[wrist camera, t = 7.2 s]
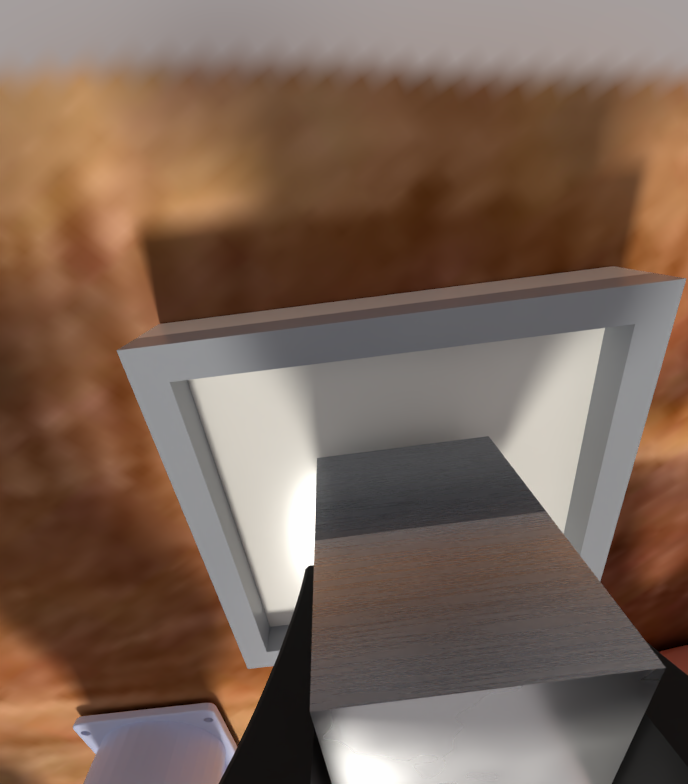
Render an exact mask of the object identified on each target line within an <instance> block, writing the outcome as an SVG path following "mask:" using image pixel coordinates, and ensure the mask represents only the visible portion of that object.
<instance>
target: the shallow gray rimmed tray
mask: <svg viewBox="0 0 688 784" xmlns="http://www.w3.org/2000/svg"><path fill="white" fill-rule="evenodd" d="M685 281H686V278H680V277H674V276H668V275H662V274H656V273H650V272H644V271H638V270H632V269H626V268H620V267H614V266H611V267H603V268H595V269H588V270H580V271H572V272H564V273H556V274H548V275H540V276H533V277H525V278H517V279H509V280H501V281H493V282H485V283H478V284H470V285H462V286H454V287H446V288H438V289H430V290H423V291H415V292H407V293H399V294H391V295H383V296H376V297H368V298H360V299H352V300H344V301H336V302H328V303H321V304H313V305H305V306H297V307H289V308H281V309H273V310H266V311H258V312H250V313H242V314H234V315H226V316H219V317H211V318H203V319H195V320H187V321H179V322H171V323H164V324H158V325H157V326H155V327H154V328H152V329H150V330H149V331H147V332H146V333H144V334H142V335H141V336H139V337H138V338H136V339H134V340H133V341H131V342H130V343H128V344H126V345H125V346H123V347H122V348H120V349H118V350H117V353H118V355H119V357H120V360H121V362H122V365H123V367H124V370H125V372H126V374H127V377H128V379H129V382H130V384H131V387H132V389H133V391H134V394H135V396H136V399H137V401H138V404H139V406H140V408H141V411H142V413H143V416H144V418H145V421H146V423H147V425H148V428H149V430H150V433H151V435H152V438H153V440H154V442H155V445H156V447H157V450H158V452H159V454H160V457H161V459H162V462H163V464H164V467H165V469H166V471H167V474H168V476H169V479H170V481H171V484H172V486H173V488H174V491H175V493H176V496H177V498H178V501H179V503H180V505H181V508H182V510H183V513H184V515H185V518H186V520H187V522H188V525H189V527H190V530H191V532H192V535H193V537H194V539H195V542H196V544H197V547H198V549H199V551H200V554H201V556H202V559H203V561H204V564H205V566H206V568H207V571H208V573H209V576H210V578H211V581H212V583H213V585H214V588H215V590H216V593H217V595H218V598H219V600H220V602H221V605H222V607H223V610H224V612H225V615H226V617H227V619H228V622H229V624H230V627H231V629H232V632H233V634H234V636H235V639H236V641H237V644H238V646H239V648H240V651H241V653H242V656H243V658H244V661H245V663H246V665H247V668H248V669H250V668H259V667H268V666H274V664H275V662H276V659H277V657H278V654H279V651H280V649H281V646H282V643H283V640H284V638H285V635H286V632H287V629H288V627H289V624H290V621H291V618H292V615H293V612H294V609H295V606H296V603H297V599H298V596H299V593H300V589H301V585H302V582H303V577H304V573H305V569H306V568H307V567H308V566H310V565H314V545H315V510H316V475H317V458H321V457H329V456H337V455H345V454H353V453H360V452H368V451H376V450H384V449H392V448H400V447H407V446H415V445H423V444H431V443H439V442H446V441H454V440H462V439H470V438H478V437H486V436H489V437H490V439H491V440H492V441H493V442H494V444H495V445H496V446H497V448H498V449H499V450H500V452H501V453H502V454H503V456H504V457H505V458H506V459H507V461H508V462H509V463H510V465H511V466H512V467H513V469H514V470H515V471H516V473H517V474H518V475H519V476H520V478H521V479H522V480H523V482H524V483H525V484H526V486H527V487H528V488H529V490H530V491H531V492H532V493H533V495H534V496H535V497H536V499H537V500H538V501H539V503H540V504H541V505H542V507H543V508H544V509H545V510H546V512H547V513H548V514H549V516H550V517H551V518H552V520H553V521H554V522H555V524H556V525H557V526H558V527H559V529H560V530H561V531H562V533H563V534H564V535H565V537H566V538H567V539H568V540H569V542H570V543H571V544H572V546H573V547H574V548H575V550H576V551H577V552H578V554H579V555H580V556H581V557H582V559H583V560H584V561H585V563H586V564H587V565H588V567H589V568H590V569H591V571H592V572H593V573H594V574H595V576H596V577H597V578H598V580H599V581H601V577H602V574H603V570H604V567H605V563H606V560H607V556H608V553H609V549H610V546H611V542H612V539H613V535H614V531H615V528H616V524H617V521H618V517H619V514H620V510H621V507H622V503H623V500H624V496H625V493H626V489H627V486H628V482H629V479H630V475H631V472H632V468H633V465H634V461H635V457H636V454H637V450H638V447H639V443H640V440H641V436H642V433H643V429H644V426H645V422H646V419H647V415H648V412H649V408H650V405H651V401H652V398H653V394H654V390H655V387H656V383H657V380H658V376H659V373H660V369H661V366H662V362H663V359H664V355H665V352H666V348H667V345H668V341H669V338H670V334H671V331H672V327H673V323H674V320H675V316H676V313H677V309H678V306H679V302H680V299H681V295H682V292H683V288H684V285H685Z"/></svg>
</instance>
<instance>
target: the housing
mask: <svg viewBox="0 0 688 784" xmlns="http://www.w3.org/2000/svg"><path fill="white" fill-rule="evenodd" d="M665 668H666V667H665V666H664V665H663V663H662V662H661V661H660V659H659V658H658V657H657V656H656V654H655V653H654V652H653V650H652V649H651V648H650V646H649V645H648V644H647V642H646V641H645V640H644V639H643V637H642V636H641V635H640V633H639V632H638V631H637V629H636V628H635V627H634V625H633V624H632V623H631V622H630V620H629V619H628V618H627V616H626V615H625V614H624V612H623V611H622V610H621V608H620V607H619V606H618V605H617V603H616V602H615V601H614V599H613V598H612V597H611V595H610V594H609V593H608V591H607V590H606V589H605V588H604V586H603V585H602V584H601V582H600V581H599V580H598V578H597V577H596V576H595V574H594V573H593V572H592V571H591V569H590V568H589V567H588V565H587V564H586V563H585V561H584V560H583V559H582V557H581V556H580V555H579V554H578V552H577V551H576V550H575V548H574V547H573V546H572V544H571V543H570V542H569V540H568V539H567V538H566V537H565V535H564V534H563V533H562V531H561V530H560V529H559V527H558V526H557V525H556V524H555V522H554V521H553V520H552V518H551V517H550V516H549V514H548V513H547V512H546V510H545V509H544V508H543V507H542V505H541V504H540V503H539V501H538V500H537V499H536V497H535V496H534V495H533V493H532V492H531V491H530V490H529V488H528V487H527V486H526V484H525V483H524V482H523V480H522V479H521V478H520V476H519V475H518V474H517V473H516V471H515V470H514V469H513V467H512V466H511V465H510V463H509V462H508V461H507V459H506V458H505V457H504V456H503V454H502V453H501V452H500V450H499V449H498V448H497V446H496V445H495V444H494V442H493V441H492V440H491V439H490V437H489V436H486V437H478V438H470V439H462V440H454V441H446V442H439V443H431V444H423V445H415V446H407V447H400V448H392V449H384V450H376V451H368V452H360V453H353V454H345V455H337V456H329V457H321V458H317V475H316V510H315V545H314V580H313V615H312V650H311V685H310V715H311V718H312V721H313V724H314V728H315V731H316V734H317V737H318V741H319V744H320V747H321V750H322V754H323V757H324V760H325V763H326V767H327V770H328V773H329V776H330V780H331V783H332V784H612V782H613V780H614V778H615V775H616V773H617V771H618V769H619V767H620V765H621V763H622V760H623V758H624V756H625V754H626V752H627V750H628V748H629V745H630V743H631V741H632V739H633V737H634V735H635V733H636V730H637V728H638V726H639V724H640V722H641V720H642V718H643V715H644V713H645V711H646V709H647V707H648V705H649V703H650V700H651V698H652V696H653V694H654V692H655V690H656V688H657V685H658V683H659V681H660V679H661V677H662V675H663V673H664V670H665Z"/></svg>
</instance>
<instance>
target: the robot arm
mask: <svg viewBox="0 0 688 784" xmlns="http://www.w3.org/2000/svg"><path fill="white" fill-rule="evenodd" d="M313 580H314V565H310V566H308V567H307V568H306V569H305V573H304V577H303V582H302V585H301V589H300V593H299V596H298V599H297V603H296V606H295V609H294V612H293V615H292V618H291V621H290V624H289V627H288V629H287V632H286V635H285V638H284V640H283V643H282V646H281V649H280V651H279V654H278V657H277V659H276V662H275V664H274V666H273V669H272V671H271V674H270V676H269V678H268V681H267V683H266V686H265V688H264V690H263V693H262V695H261V697H260V700H259V702H258V704H257V706H256V709H255V711H254V713H253V715H252V717H251V720H250V722H249V724H248V726H247V728H246V730H245V732H244V734H243V736H242V738H241V741H240V743H239V745H238V747H237V745H236V743H235V741H234V739H233V737H232V735H231V734H230V732H229V730H228V728H227V726H226V724H225V722H224V720H223V718H222V716H221V714H220V712H219V711H218V709H217V707H216V705H215V704H213V703H197V704H188V705H179V706H170V707H161V708H152V709H143V710H134V711H125V712H115V713H106V714H97V715H88V716H81V717H79V718H77V720H76V722H75V724H74V726H73V729H74V730H75V732H76V733H77V734H78V735H79V736H80V737H81V738H82V739H83V740H84V742H85V743H86V744H87V745H88V746H89V747H90V748H91V749H92V750H93V752H94V753H95V754H96V756H95V758H94V760H93V763H92V765H91V767H90V769H89V772H88V774H87V776H86V779H85V781H84V783H83V784H332V783H331V780H330V776H329V773H328V770H327V767H326V763H325V760H324V757H323V754H322V750H321V747H320V744H319V741H318V737H317V734H316V731H315V728H314V724H313V721H312V718H311V715H310V685H311V650H312V615H313ZM647 644H648V645H649V646H650V648H651V649H652V650H653V652H654V653H655V654H656V656H657V657H658V658H659V659H660V661H661V662H662V663H663V665H664V666H665V667H666V668H665V670H664V673H663V675H662V677H661V679H660V681H659V683H658V685H657V688H656V690H655V692H654V694H653V696H652V698H651V700H650V703H649V705H648V707H647V709H646V711H645V713H644V715H643V718H642V720H641V722H640V724H639V726H638V728H637V730H636V733H635V735H634V737H633V739H632V741H631V743H630V745H629V748H628V750H627V752H626V754H625V756H624V758H623V760H622V763H621V765H620V767H619V769H618V771H617V773H616V775H615V778H614V780H613V782H612V784H688V675H687V674H686V673H684V672H683V671H682V670H681V669H679V668H678V667H677V666H676V665H674V664H673V663H672V662H671V661H669V660H668V659H667V658H666V657H664V656H663V655H662V654H661V653H660V652H658V651H657V650H656V649H655V648H653V647H652V646H651V645H650V644H649V643H647Z"/></svg>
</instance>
